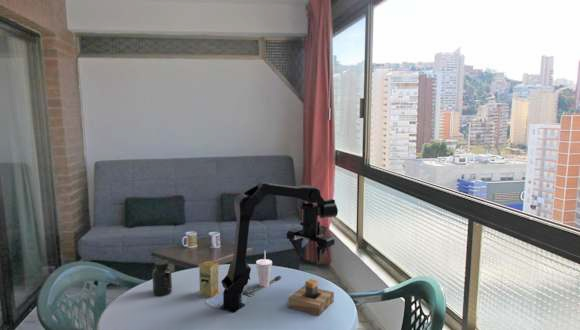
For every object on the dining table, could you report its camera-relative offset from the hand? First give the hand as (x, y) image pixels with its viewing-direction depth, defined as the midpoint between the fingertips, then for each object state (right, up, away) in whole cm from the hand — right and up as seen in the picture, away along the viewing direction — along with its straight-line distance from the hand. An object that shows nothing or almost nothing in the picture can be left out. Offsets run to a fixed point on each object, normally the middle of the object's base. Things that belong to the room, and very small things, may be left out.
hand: (309, 259), depth 155 cm
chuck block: (0, -14, -8) cm, 16 cm away
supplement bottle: (-56, -13, +1) cm, 57 cm away
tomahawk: (-17, -13, +7) cm, 22 cm away
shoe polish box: (-38, -13, 0) cm, 40 cm away
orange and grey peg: (0, -14, -8) cm, 16 cm away
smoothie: (-18, -12, +8) cm, 23 cm away
